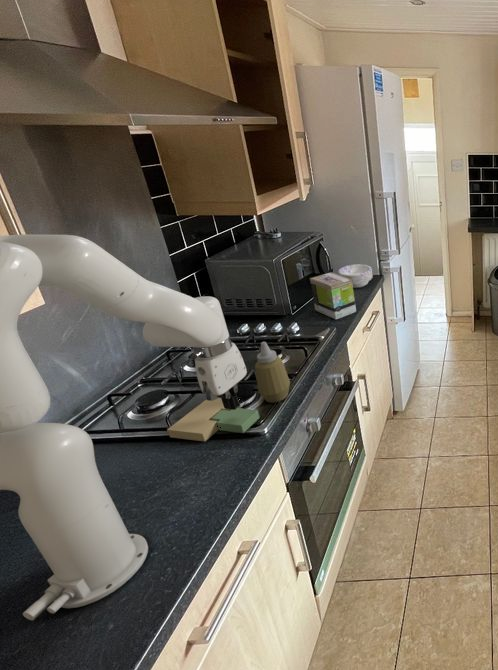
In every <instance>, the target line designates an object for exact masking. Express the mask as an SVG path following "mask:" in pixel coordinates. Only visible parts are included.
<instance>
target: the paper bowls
mask: <svg viewBox="0 0 498 670" xmlns="http://www.w3.org/2000/svg"><path fill="white" fill-rule="evenodd" d="M337 275H340V276H343V277H346V278H349V279H352V285H353V289H357V288H358V289H359V288H363V287H365V286H367V285H368V284H369V282H370V281H371V280H372V279H373V276H374V275H373V268H372V267H371V266H370V265H367V264H363V263H359V264H357V263H356V264H349V265H345V266H342V267H340V268H339V269H338V271H337Z"/></svg>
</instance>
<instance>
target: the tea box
mask: <svg viewBox="0 0 498 670" xmlns="http://www.w3.org/2000/svg"><path fill="white" fill-rule="evenodd" d="M309 282H310V288H311V292H312V293H311V294H312V299H313V305H314V309H315V311H316V312H318V313H321V314H323V315H324V316H327V317H329V318H332V319H334V320H339V319H342V318H344V317H347V316H349V315H352V314H354V313H356V312H357V307H356V300H355V293H354V292H355V291H354V288H353V285H352V279H349V278H346V277H343V276H340V275H338V273H335V272H331V271H329V272H327V273H324V274H323V273H322V274H320V275H317V276H313V277H310V278H309Z"/></svg>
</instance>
